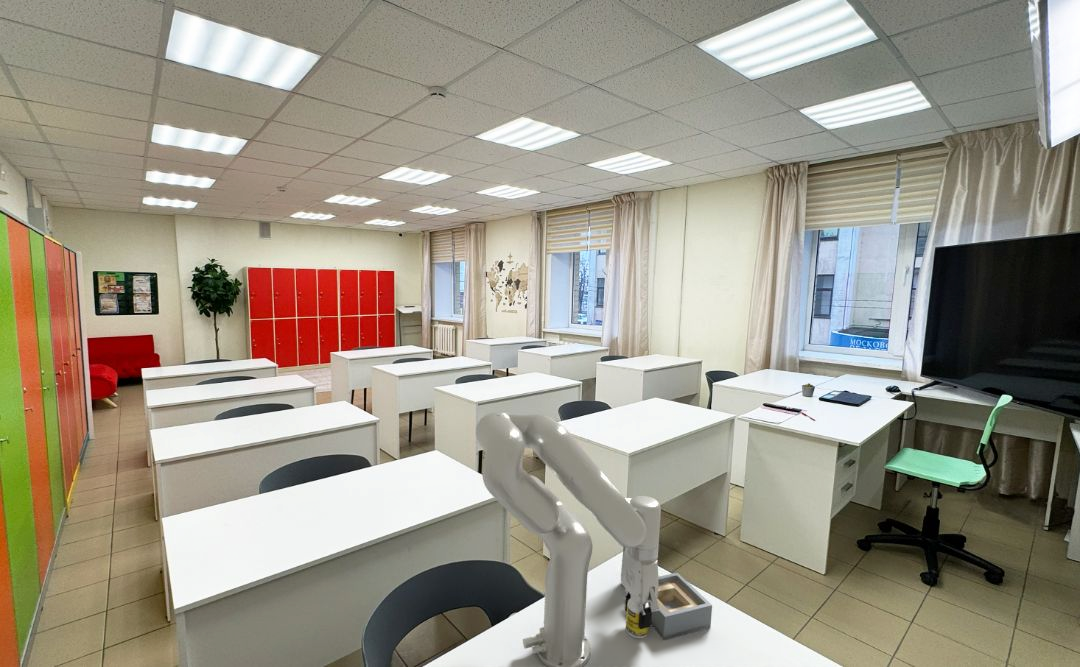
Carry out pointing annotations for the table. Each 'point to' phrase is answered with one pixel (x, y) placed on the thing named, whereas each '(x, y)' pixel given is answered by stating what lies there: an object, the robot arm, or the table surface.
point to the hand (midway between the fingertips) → (637, 617)
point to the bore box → (679, 608)
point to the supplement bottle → (634, 619)
